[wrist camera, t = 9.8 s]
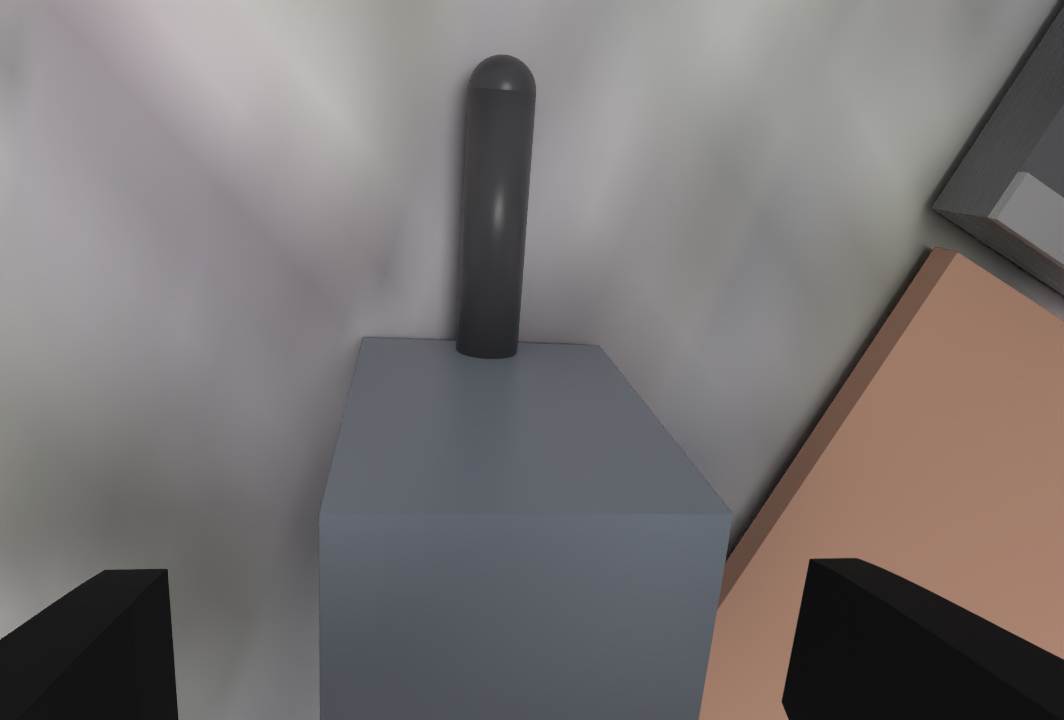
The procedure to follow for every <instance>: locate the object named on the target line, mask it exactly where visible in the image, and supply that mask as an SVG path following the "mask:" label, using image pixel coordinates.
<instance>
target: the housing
mask: <svg viewBox="0 0 1064 720" xmlns="http://www.w3.org/2000/svg"><path fill="white" fill-rule="evenodd" d="M932 209H934V210H935V211H937V212H938V213H940V214H941V215H943V216H944V217H946V218H947V219H949V220H950V221H952V222H953V223H955V224H956V225H958V226H959V227H961V228H962V229H964V230H965V231H967V232H968V233H970V234H971V235H973V236H974V237H976V238H977V239H979V240H980V241H982V242H983V243H985V244H986V245H988V246H989V247H991V248H992V249H994V250H995V251H997V252H998V253H1000V254H1002V255H1003V256H1005V257H1006V258H1008V259H1009V260H1011V261H1012V262H1014V263H1015V264H1017V265H1018V266H1020V267H1021V268H1023V269H1024V270H1026V271H1027V272H1029V273H1030V274H1032V275H1033V276H1035V277H1036V278H1038V279H1039V280H1041V281H1042V282H1044V283H1045V284H1047V285H1048V286H1050V287H1051V288H1053V289H1054V290H1056V291H1057V292H1059V293H1060V294H1062V295H1063V296H1064V6H1063V8H1062V9H1061V11H1060V12H1059V14H1058V15H1057V17H1056V18H1055V20H1054V21H1053V23H1052V24H1051V26H1050V27H1049V29H1048V30H1047V32H1046V33H1045V35H1044V37H1043V38H1042V40H1041V41H1040V43H1039V44H1038V46H1037V47H1036V49H1035V50H1034V52H1033V53H1032V55H1031V56H1030V58H1029V59H1028V61H1027V63H1026V64H1025V66H1024V67H1023V69H1022V70H1021V72H1020V73H1019V75H1018V76H1017V78H1016V79H1015V81H1014V82H1013V84H1012V85H1011V87H1010V88H1009V90H1008V92H1007V93H1006V95H1005V96H1004V98H1003V99H1002V101H1001V102H1000V104H999V105H998V107H997V108H996V110H995V111H994V113H993V114H992V116H991V117H990V119H989V121H988V122H987V124H986V125H985V127H984V128H983V130H982V131H981V133H980V134H979V136H978V137H977V139H976V140H975V142H974V143H973V145H972V146H971V148H970V150H969V151H968V153H967V154H966V156H965V157H964V159H963V160H962V162H961V163H960V165H959V166H958V168H957V169H956V171H955V172H954V174H953V175H952V177H951V179H950V180H949V182H948V183H947V185H946V186H945V188H944V189H943V191H942V192H941V194H940V195H939V197H938V198H937V200H936V201H935V203H934V204H933V206H932Z"/></svg>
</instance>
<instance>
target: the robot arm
mask: <svg viewBox="0 0 1064 720" xmlns="http://www.w3.org/2000/svg"><path fill="white" fill-rule="evenodd" d="M782 705H783V707H784V709H785V712H786V714H787V717H788V719H789V720H1064V659H1062V658H1060V657H1058V656H1056V655H1054V654H1052V653H1050V652H1048V651H1046V650H1044V649H1042V648H1040V647H1038V646H1036V645H1034V644H1032V643H1030V642H1029V641H1027V640H1025V639H1023V638H1021V637H1019V636H1017V635H1015V634H1013V633H1011V632H1009V631H1007V630H1005V629H1003V628H1001V627H999V626H997V625H996V624H994V623H992V622H990V621H988V620H986V619H984V618H982V617H980V616H978V615H976V614H974V613H972V612H970V611H968V610H966V609H965V608H963V607H961V606H959V605H957V604H955V603H953V602H951V601H949V600H947V599H945V598H943V597H941V596H939V595H937V594H935V593H933V592H931V591H929V590H927V589H925V588H923V587H921V586H919V585H917V584H915V583H913V582H911V581H909V580H907V579H905V578H903V577H901V576H899V575H896V574H894V573H892V572H890V571H888V570H886V569H883V568H881V567H879V566H876V565H874V564H871V563H869V562H866V561H864V560H861V559H859V558H819V559H809V565H808V570H807V575H806V580H805V585H804V590H803V595H802V600H801V605H800V610H799V615H798V620H797V625H796V631H795V636H794V641H793V646H792V651H791V656H790V661H789V666H788V671H787V676H786V681H785V686H784V691H783V697H782ZM0 720H178V708H177V694H176V681H175V667H174V653H173V639H172V625H171V611H170V598H169V584H168V570H167V569H134V570H104V571H102V572H101V573H99V574H97V575H96V576H94V577H92V578H91V579H89V580H87V581H86V582H84V583H83V584H81V585H80V586H78V587H77V588H75V589H74V590H72V591H71V592H69V593H68V594H66V595H65V596H63V597H62V598H60V599H59V600H57V601H56V602H54V603H53V604H51V605H50V606H48V607H47V608H46V609H44V610H43V611H41V612H40V613H38V614H37V615H35V616H34V617H32V618H31V619H30V620H28V621H27V622H25V623H24V624H22V625H21V626H19V627H18V628H17V629H15V630H14V631H12V632H11V633H9V634H8V635H6V636H5V637H4V638H2V639H1V640H0Z"/></svg>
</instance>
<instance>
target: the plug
mask: <svg viewBox="0 0 1064 720" xmlns="http://www.w3.org/2000/svg"><path fill="white" fill-rule="evenodd" d="M535 101H536V85H535V80H534V77H533V75H532V73H531V71H530V70H529V68H528V67H527V66H526V65H525V64H524V63H523V62H522V61H520V60H519V59H517V58H515V57H512V56H509V55H495V56H491V57H489V58H487V59H485V60H483V61H482V62H481V63H480V64H479V65H478V66H477V67H476V68H475V70H474V71H473V73H472V75H471V78H470V81H469V88H468V109H467V129H466V150H465V171H464V191H463V212H462V232H461V253H460V273H459V294H458V315H457V335H456V341H454V340H425V339H396V338H367V337H363V341H362V345H361V349H360V353H359V357H358V361H357V365H356V369H355V373H354V376H353V380H352V384H351V388H350V392H349V396H348V400H347V404H346V408H345V412H344V416H343V420H342V424H341V428H340V432H339V436H338V440H337V444H336V448H335V452H334V456H333V460H332V464H331V468H330V472H329V476H328V480H327V484H326V488H325V492H324V496H323V500H322V504H321V508H320V512H319V626H320V720H699V715H700V709H701V703H702V697H703V691H704V685H705V679H706V674H707V668H708V662H709V656H710V650H711V644H712V638H713V632H714V626H715V620H716V614H717V608H718V602H719V596H720V591H721V585H722V579H723V573H724V567H725V561H726V555H727V549H728V543H729V537H730V531H731V525H732V519H733V513H732V512H731V511H730V509H729V508H728V507H727V506H726V504H725V503H724V502H723V501H722V499H721V498H720V497H719V496H718V494H717V493H716V492H715V491H714V489H713V488H712V487H711V486H710V484H709V483H708V482H707V480H706V479H705V478H704V477H703V475H702V474H701V473H700V472H699V470H698V469H697V468H696V467H695V465H694V464H693V463H692V462H691V460H690V459H689V458H688V457H687V455H686V454H685V453H684V452H683V450H682V449H681V448H680V447H679V445H678V444H677V443H676V441H675V440H674V439H673V438H672V436H671V435H670V434H669V433H668V431H667V430H666V429H665V428H664V426H663V425H662V424H661V423H660V421H659V420H658V419H657V418H656V416H655V415H654V414H653V413H652V411H651V410H650V409H649V407H648V406H647V405H646V404H645V402H644V401H643V400H642V399H641V397H640V396H639V395H638V394H637V392H636V391H635V390H634V389H633V387H632V386H631V385H630V384H629V382H628V381H627V380H626V379H625V377H624V376H623V375H622V374H621V372H620V371H619V370H618V368H617V367H616V366H615V365H614V363H613V362H612V361H611V360H610V358H609V357H608V356H607V355H606V353H605V352H604V351H603V350H602V348H601V347H600V346H598V345H569V344H540V343H518V334H519V321H520V307H521V293H522V279H523V266H524V252H525V238H526V224H527V211H528V197H529V183H530V169H531V156H532V142H533V128H534V115H535Z"/></svg>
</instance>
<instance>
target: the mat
mask: <svg viewBox="0 0 1064 720" xmlns="http://www.w3.org/2000/svg"><path fill="white" fill-rule="evenodd" d="M819 558H859V559H861V560H864V561H866V562H869V563H871V564H874V565H876V566H879V567H881V568H883V569H886V570H888V571H890V572H892V573H894V574H896V575H899V576H901V577H903V578H905V579H907V580H909V581H911V582H913V583H915V584H917V585H919V586H921V587H923V588H925V589H927V590H929V591H931V592H933V593H935V594H937V595H939V596H941V597H943V598H945V599H947V600H949V601H951V602H953V603H955V604H957V605H959V606H961V607H963V608H965V609H966V610H968V611H970V612H972V613H974V614H976V615H978V616H980V617H982V618H984V619H986V620H988V621H990V622H992V623H994V624H996V625H997V626H999V627H1001V628H1003V629H1005V630H1007V631H1009V632H1011V633H1013V634H1015V635H1017V636H1019V637H1021V638H1023V639H1025V640H1027V641H1029V642H1030V643H1032V644H1034V645H1036V646H1038V647H1040V648H1042V649H1044V650H1046V651H1048V652H1050V653H1052V654H1054V655H1056V656H1058V657H1060V658H1062V659H1064V321H1063V320H1061V319H1060V318H1058V317H1057V316H1055V315H1054V314H1052V313H1051V312H1049V311H1048V310H1046V309H1045V308H1043V307H1041V306H1040V305H1038V304H1037V303H1035V302H1034V301H1032V300H1031V299H1029V298H1028V297H1026V296H1025V295H1023V294H1021V293H1020V292H1018V291H1017V290H1015V289H1014V288H1012V287H1011V286H1009V285H1008V284H1006V283H1005V282H1003V281H1001V280H1000V279H998V278H997V277H995V276H994V275H992V274H991V273H989V272H988V271H986V270H984V269H983V268H981V267H980V266H978V265H977V264H975V263H974V262H972V261H971V260H969V259H968V258H966V257H964V256H963V255H961V254H960V253H958V252H955V251H951V250H947V249H943V248H939V247H935V248H934V249H933V251H932V252H931V254H930V255H929V257H928V258H927V260H926V261H925V263H924V264H923V266H922V267H921V269H920V270H919V272H918V273H917V275H916V276H915V278H914V279H913V281H912V282H911V284H910V285H909V287H908V288H907V290H906V292H905V293H904V295H903V296H902V298H901V299H900V301H899V302H898V304H897V305H896V307H895V308H894V310H893V311H892V313H891V314H890V316H889V317H888V319H887V320H886V322H885V323H884V325H883V326H882V328H881V329H880V331H879V332H878V334H877V335H876V337H875V338H874V340H873V341H872V343H871V344H870V346H869V347H868V349H867V350H866V352H865V353H864V355H863V356H862V358H861V359H860V361H859V362H858V364H857V365H856V367H855V368H854V370H853V371H852V373H851V374H850V376H849V377H848V379H847V380H846V382H845V383H844V385H843V386H842V388H841V389H840V391H839V392H838V394H837V396H836V397H835V399H834V400H833V402H832V403H831V405H830V406H829V408H828V409H827V411H826V412H825V414H824V415H823V417H822V418H821V420H820V421H819V423H818V424H817V426H816V427H815V429H814V430H813V432H812V433H811V435H810V436H809V438H808V439H807V441H806V442H805V444H804V445H803V447H802V448H801V450H800V451H799V453H798V454H797V456H796V457H795V459H794V460H793V462H792V463H791V465H790V466H789V468H788V469H787V471H786V472H785V474H784V475H783V477H782V478H781V480H780V481H779V483H778V484H777V486H776V487H775V489H774V490H773V492H772V493H771V495H770V496H769V498H768V500H767V501H766V503H765V504H764V506H763V507H762V509H761V510H760V512H759V513H758V515H757V516H756V518H755V519H754V521H753V522H752V524H751V525H750V527H749V528H748V530H747V531H746V533H745V534H744V536H743V537H742V539H741V540H740V542H739V543H738V545H737V546H736V548H735V549H734V551H733V552H732V554H731V555H730V557H729V558H728V560H727V561H726V563H725V567H724V573H723V579H722V585H721V591H720V596H719V602H718V608H717V614H716V620H715V626H714V632H713V638H712V644H711V650H710V656H709V662H708V668H707V674H706V679H705V685H704V691H703V697H702V703H701V709H700V715H699V720H789V719H788V717H787V714H786V712H785V709H784V707H783V705H782V697H783V691H784V686H785V681H786V676H787V671H788V666H789V661H790V656H791V651H792V646H793V641H794V636H795V631H796V625H797V620H798V615H799V610H800V605H801V600H802V595H803V590H804V585H805V580H806V575H807V570H808V565H809V559H819Z"/></svg>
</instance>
